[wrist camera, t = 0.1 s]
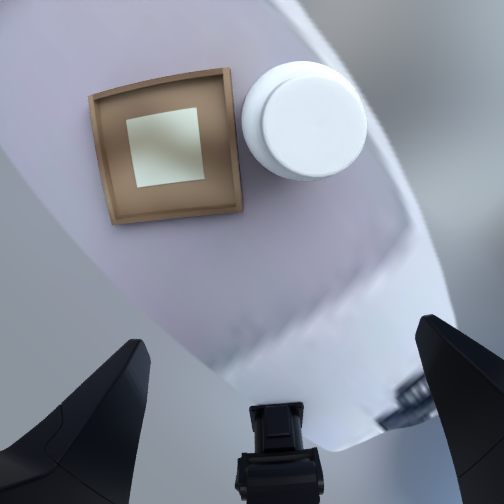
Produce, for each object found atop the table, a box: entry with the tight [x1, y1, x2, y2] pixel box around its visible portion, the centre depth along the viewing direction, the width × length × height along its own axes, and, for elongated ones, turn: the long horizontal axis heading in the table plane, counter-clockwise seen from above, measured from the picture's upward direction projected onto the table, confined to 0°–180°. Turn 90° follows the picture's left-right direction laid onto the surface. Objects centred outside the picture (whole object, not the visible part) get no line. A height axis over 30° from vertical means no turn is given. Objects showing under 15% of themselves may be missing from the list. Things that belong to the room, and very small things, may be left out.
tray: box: [88, 67, 243, 225], centre depth 19 cm, size 10×10×1 cm
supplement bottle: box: [241, 61, 367, 181], centre depth 15 cm, size 6×6×10 cm
